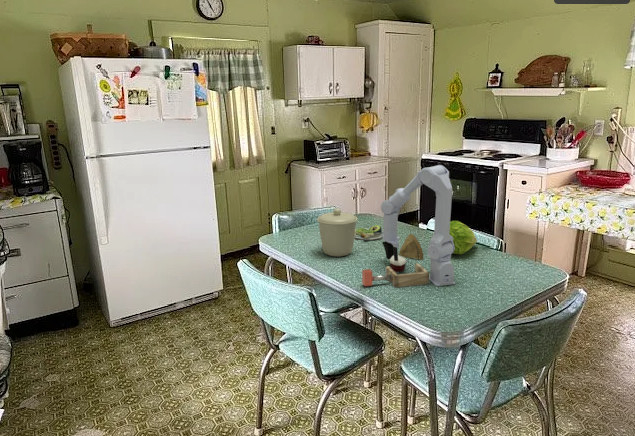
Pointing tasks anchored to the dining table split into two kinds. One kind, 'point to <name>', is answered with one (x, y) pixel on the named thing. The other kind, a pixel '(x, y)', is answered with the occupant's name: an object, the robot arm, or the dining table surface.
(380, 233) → the salad plate
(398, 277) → the dock
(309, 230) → the dining table surface
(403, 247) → the rock
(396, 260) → the cocoa
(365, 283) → the lock pin
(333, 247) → the canister
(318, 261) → the dining table surface
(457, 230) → the lettuce
